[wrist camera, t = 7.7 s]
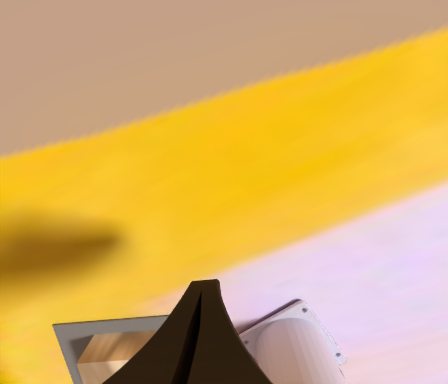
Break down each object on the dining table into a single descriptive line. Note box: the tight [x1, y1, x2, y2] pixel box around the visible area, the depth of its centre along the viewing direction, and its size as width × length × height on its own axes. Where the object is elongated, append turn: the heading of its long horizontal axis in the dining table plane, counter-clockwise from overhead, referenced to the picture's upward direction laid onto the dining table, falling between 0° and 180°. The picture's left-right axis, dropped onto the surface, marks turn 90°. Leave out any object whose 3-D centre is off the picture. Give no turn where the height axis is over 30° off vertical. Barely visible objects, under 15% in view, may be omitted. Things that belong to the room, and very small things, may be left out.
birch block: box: [77, 330, 157, 384], centre depth 24 cm, size 3×6×7 cm
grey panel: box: [53, 315, 169, 384], centre depth 26 cm, size 13×9×1 cm
